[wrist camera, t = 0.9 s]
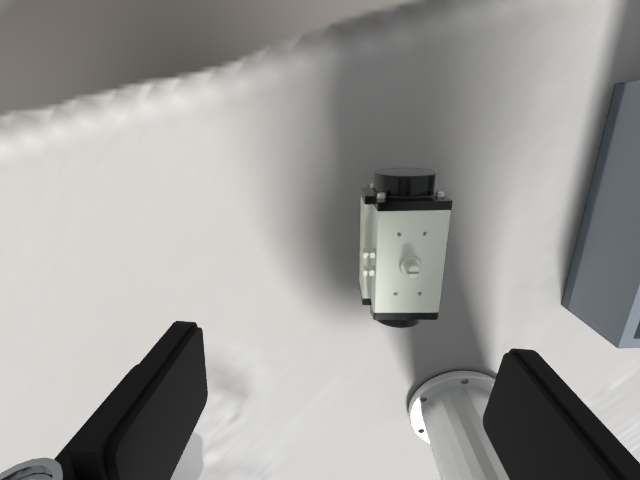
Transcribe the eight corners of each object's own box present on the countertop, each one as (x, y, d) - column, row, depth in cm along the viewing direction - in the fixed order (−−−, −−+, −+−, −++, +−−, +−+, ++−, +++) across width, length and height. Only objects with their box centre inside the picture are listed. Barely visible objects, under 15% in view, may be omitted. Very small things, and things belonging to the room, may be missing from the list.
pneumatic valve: (411, 160, 28) (463, 180, 17) (403, 270, 32) (441, 346, 21) (353, 161, 29) (366, 182, 17) (352, 271, 33) (362, 346, 21)
